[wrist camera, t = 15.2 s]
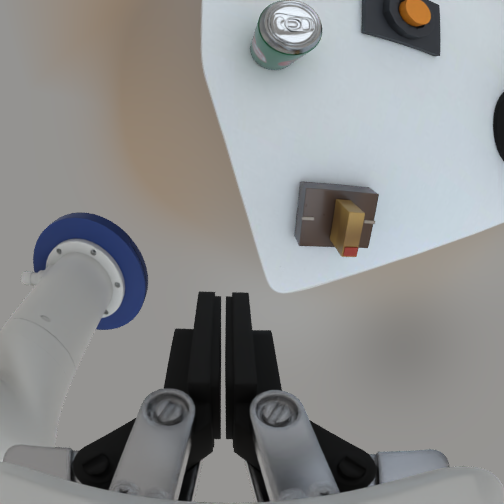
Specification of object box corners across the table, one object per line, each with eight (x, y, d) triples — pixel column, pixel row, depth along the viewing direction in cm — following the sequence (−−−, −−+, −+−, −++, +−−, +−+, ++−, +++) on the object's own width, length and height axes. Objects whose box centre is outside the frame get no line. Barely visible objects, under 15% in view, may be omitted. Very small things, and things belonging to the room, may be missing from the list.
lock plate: (293, 235, 39) (298, 246, 36) (299, 181, 36) (305, 188, 33) (360, 238, 40) (369, 248, 37) (369, 187, 37) (380, 194, 34)
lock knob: (335, 198, 34) (350, 212, 30) (350, 200, 34) (366, 213, 30) (329, 239, 36) (341, 257, 32) (343, 239, 36) (357, 258, 32)
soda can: (248, 30, 28) (257, -5, 17) (294, 30, 28) (323, -3, 17) (251, 71, 30) (261, 53, 19) (296, 70, 30) (328, 54, 19)
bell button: (398, 21, 25) (406, 18, 23) (398, -3, 23) (405, -7, 22) (423, 30, 25) (431, 28, 24) (423, 6, 24) (430, 3, 22)
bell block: (361, 32, 28) (371, 28, 25) (361, -20, 25) (371, -28, 22) (435, 56, 29) (448, 54, 26) (434, 6, 25) (446, 2, 23)
